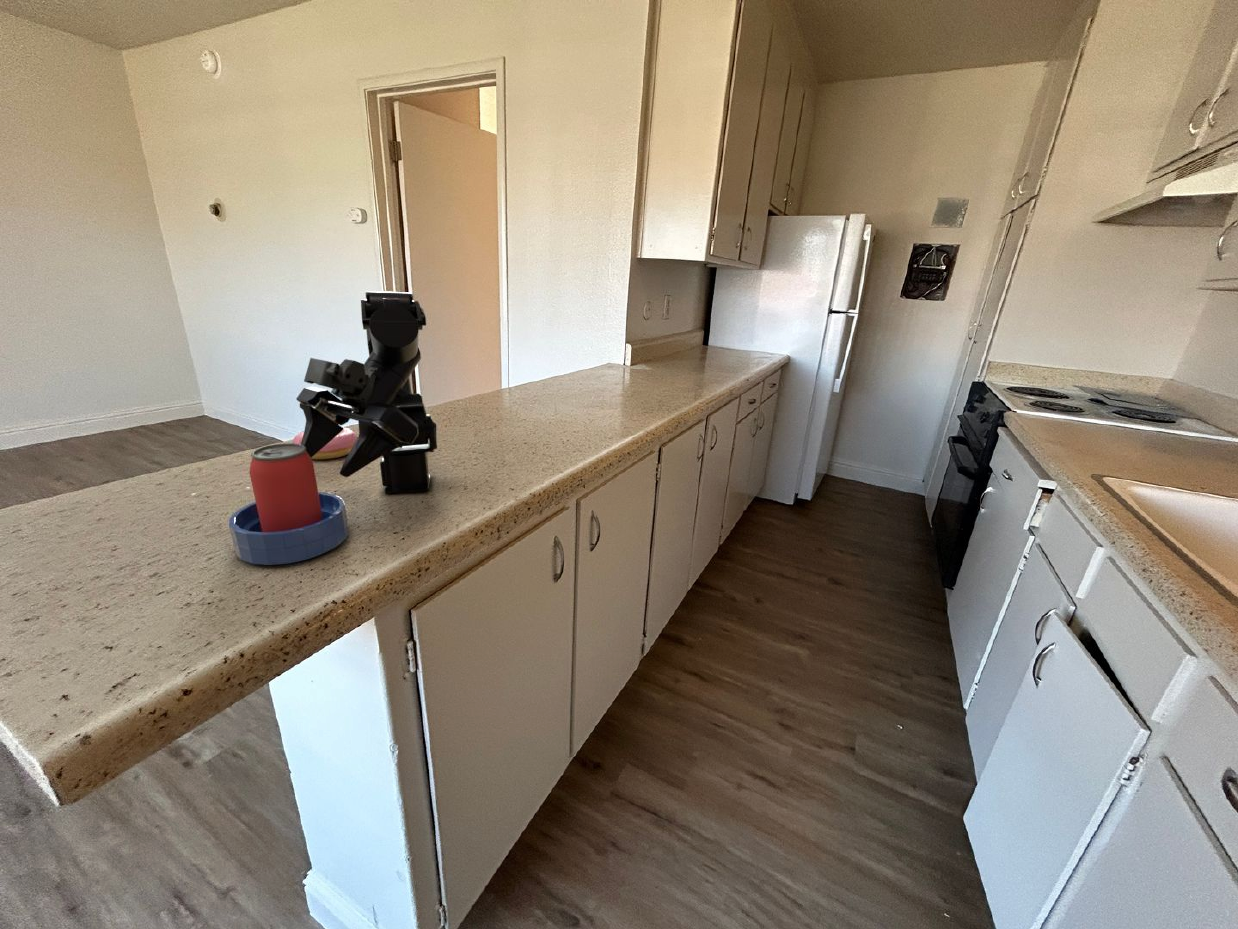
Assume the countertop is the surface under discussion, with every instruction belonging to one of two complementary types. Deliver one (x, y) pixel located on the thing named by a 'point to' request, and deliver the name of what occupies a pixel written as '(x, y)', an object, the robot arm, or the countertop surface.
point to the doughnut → (333, 444)
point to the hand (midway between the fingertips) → (321, 468)
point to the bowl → (288, 535)
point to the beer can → (284, 487)
